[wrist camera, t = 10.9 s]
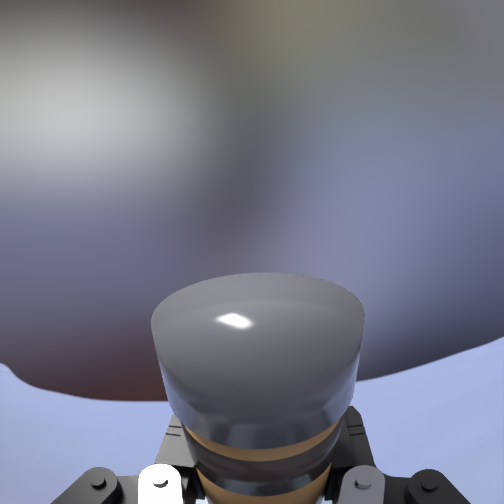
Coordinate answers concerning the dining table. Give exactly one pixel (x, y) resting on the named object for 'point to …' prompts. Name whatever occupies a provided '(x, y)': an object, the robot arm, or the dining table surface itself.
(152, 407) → the dining table surface
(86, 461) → the dining table surface
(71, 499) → the robot arm
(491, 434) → the dining table surface
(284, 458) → the grey capped cylinder
